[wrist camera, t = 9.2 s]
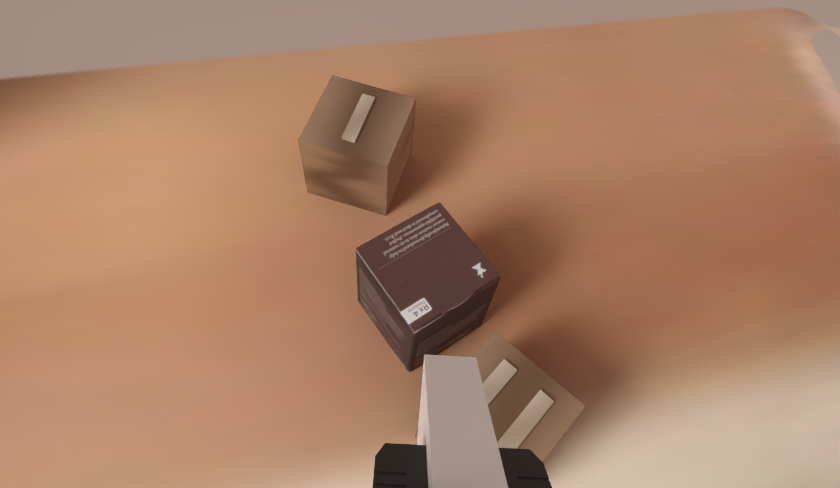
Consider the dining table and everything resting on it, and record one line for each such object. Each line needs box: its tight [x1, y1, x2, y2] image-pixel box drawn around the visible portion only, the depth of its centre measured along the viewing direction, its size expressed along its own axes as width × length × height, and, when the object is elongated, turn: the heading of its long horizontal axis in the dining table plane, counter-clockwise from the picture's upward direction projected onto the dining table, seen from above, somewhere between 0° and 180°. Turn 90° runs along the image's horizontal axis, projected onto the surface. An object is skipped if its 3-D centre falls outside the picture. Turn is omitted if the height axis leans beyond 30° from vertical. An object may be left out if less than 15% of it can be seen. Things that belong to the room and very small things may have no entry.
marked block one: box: [298, 75, 416, 215], centre depth 42 cm, size 6×6×6 cm
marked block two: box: [415, 331, 585, 462], centre depth 33 cm, size 6×6×6 cm
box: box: [356, 203, 501, 372], centre depth 36 cm, size 6×6×7 cm
